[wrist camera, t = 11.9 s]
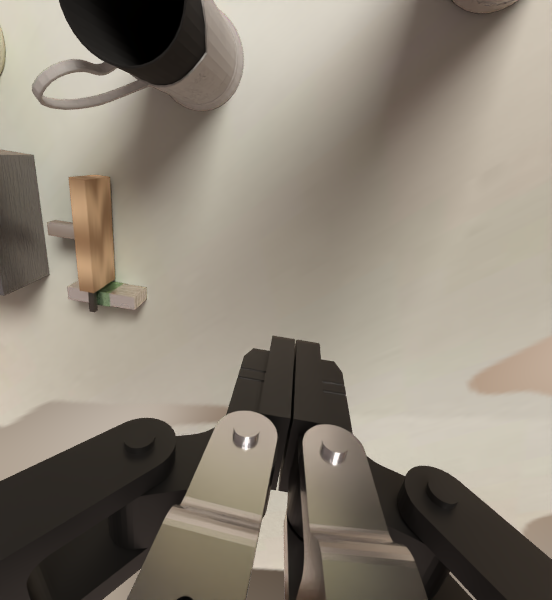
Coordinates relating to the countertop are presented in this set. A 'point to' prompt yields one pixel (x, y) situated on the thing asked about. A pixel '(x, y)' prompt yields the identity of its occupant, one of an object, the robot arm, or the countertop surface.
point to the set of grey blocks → (38, 237)
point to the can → (2, 51)
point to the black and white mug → (152, 50)
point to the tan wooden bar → (90, 233)
